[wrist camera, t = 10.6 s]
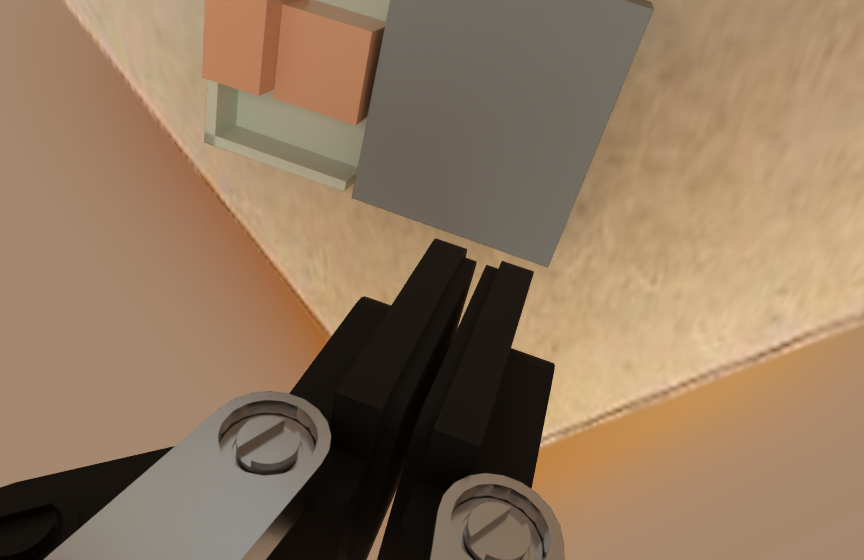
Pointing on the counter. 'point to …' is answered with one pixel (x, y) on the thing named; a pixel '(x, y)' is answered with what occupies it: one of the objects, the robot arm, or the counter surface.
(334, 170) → the sage bin
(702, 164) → the counter surface
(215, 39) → the tile
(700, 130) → the counter surface
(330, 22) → the tile
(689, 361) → the counter surface
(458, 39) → the slate board
